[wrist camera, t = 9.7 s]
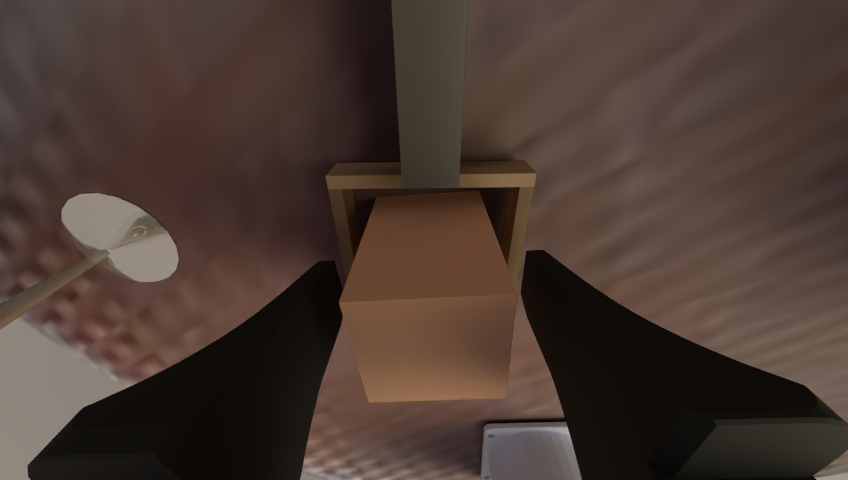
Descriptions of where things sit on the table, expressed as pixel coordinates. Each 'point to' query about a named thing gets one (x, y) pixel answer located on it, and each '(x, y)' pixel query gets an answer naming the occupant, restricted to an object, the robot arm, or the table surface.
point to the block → (430, 301)
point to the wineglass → (104, 248)
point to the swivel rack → (431, 130)
